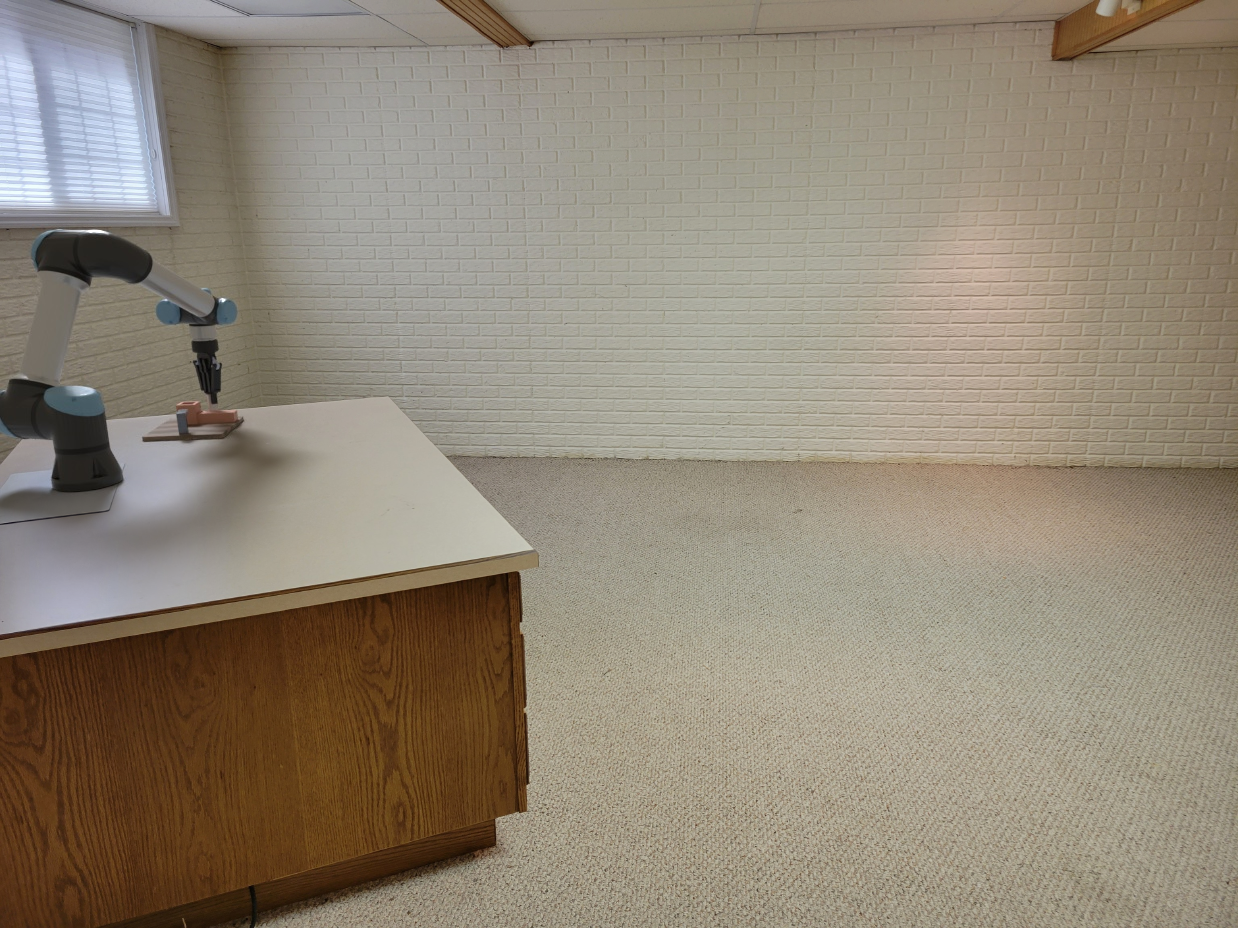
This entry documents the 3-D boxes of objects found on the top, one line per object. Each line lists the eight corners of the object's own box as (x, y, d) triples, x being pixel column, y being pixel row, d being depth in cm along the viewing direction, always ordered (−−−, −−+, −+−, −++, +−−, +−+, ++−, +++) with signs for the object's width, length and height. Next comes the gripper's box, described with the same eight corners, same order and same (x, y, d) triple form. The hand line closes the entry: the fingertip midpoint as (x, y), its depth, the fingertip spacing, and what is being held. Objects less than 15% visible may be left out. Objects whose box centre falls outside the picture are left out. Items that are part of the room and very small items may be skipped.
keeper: (188, 437, 262) (185, 413, 260) (179, 438, 261) (176, 413, 259) (191, 433, 267) (187, 409, 265) (182, 433, 266) (178, 409, 264)
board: (222, 438, 261) (221, 434, 261) (142, 441, 258) (142, 437, 258) (243, 420, 284) (243, 416, 284) (170, 422, 281) (170, 418, 281)
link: (238, 418, 280) (236, 400, 279) (234, 422, 275) (231, 403, 274) (184, 420, 278) (181, 401, 277) (178, 424, 273) (175, 405, 271)
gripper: (227, 339, 274) (236, 414, 281) (204, 336, 282) (213, 409, 288) (203, 342, 269) (213, 418, 275) (181, 338, 276) (191, 413, 282)
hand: (213, 413), depth 282 cm, fingers closed
